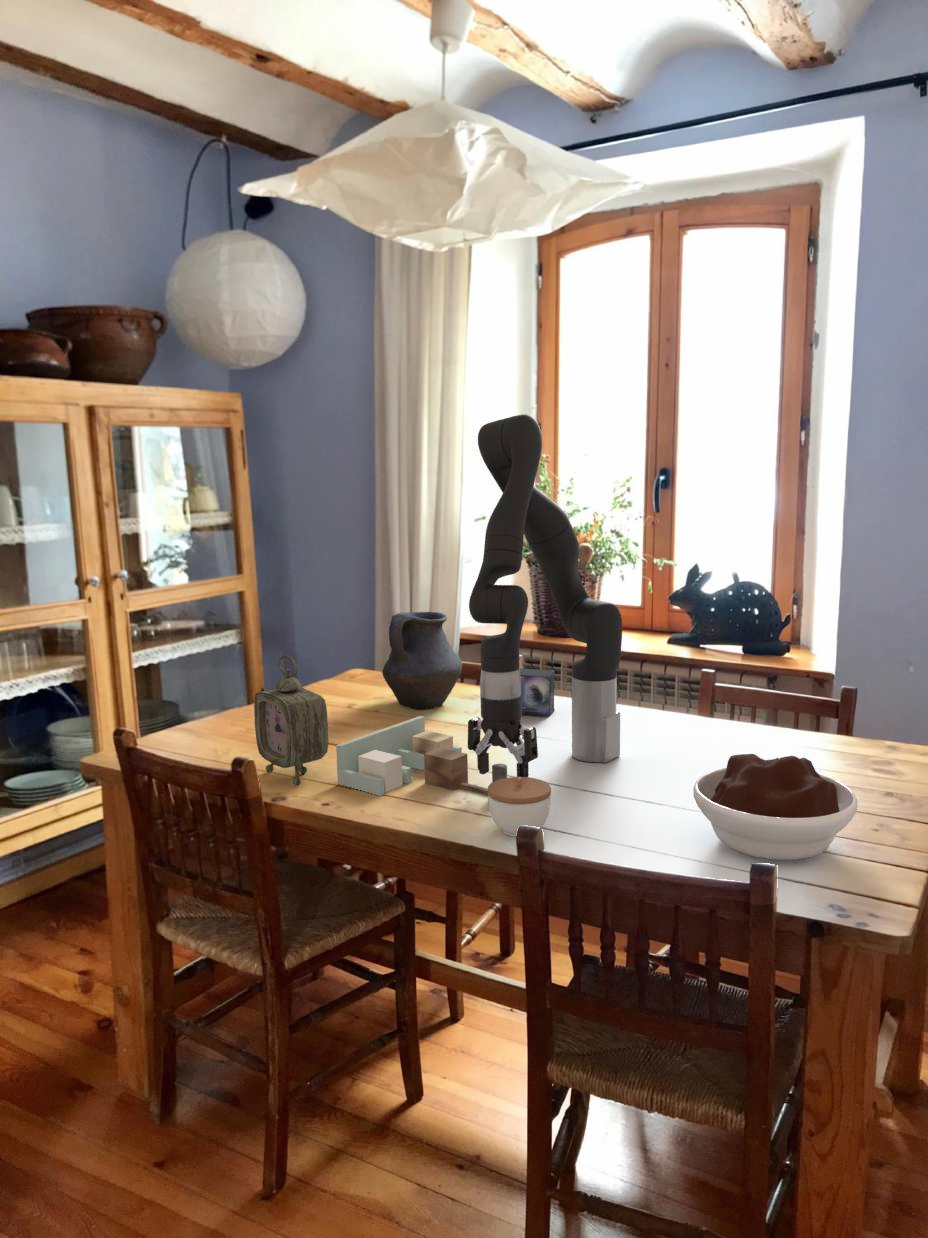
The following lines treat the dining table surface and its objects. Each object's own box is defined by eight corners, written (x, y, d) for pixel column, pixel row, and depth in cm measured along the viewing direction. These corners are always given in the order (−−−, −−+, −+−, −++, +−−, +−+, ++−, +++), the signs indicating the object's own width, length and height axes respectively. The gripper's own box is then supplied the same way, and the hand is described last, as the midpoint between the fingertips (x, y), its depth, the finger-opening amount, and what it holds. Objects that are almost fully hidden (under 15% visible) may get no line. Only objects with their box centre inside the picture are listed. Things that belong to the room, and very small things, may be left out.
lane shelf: (461, 761, 201) (461, 724, 199) (379, 796, 181) (378, 755, 180) (421, 751, 208) (420, 716, 206) (337, 784, 188) (336, 745, 187)
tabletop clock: (257, 772, 196) (250, 653, 192) (296, 762, 202) (290, 646, 198) (293, 790, 185) (286, 664, 181) (333, 779, 191) (327, 657, 187)
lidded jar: (513, 814, 171) (512, 763, 169) (563, 827, 164) (563, 775, 163) (475, 833, 163) (474, 780, 161) (526, 848, 156) (526, 793, 155)
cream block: (402, 785, 187) (401, 756, 186) (385, 792, 183) (384, 762, 182) (376, 778, 191) (375, 749, 190) (359, 785, 188) (358, 756, 186)
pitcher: (478, 700, 249) (476, 606, 245) (431, 721, 231) (428, 619, 227) (413, 691, 260) (410, 600, 256) (363, 710, 242) (360, 613, 238)
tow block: (513, 794, 181) (513, 764, 180) (498, 802, 177) (498, 771, 176) (440, 776, 192) (439, 747, 191) (424, 783, 188) (423, 753, 187)
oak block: (453, 764, 199) (452, 736, 198) (438, 770, 196) (438, 741, 195) (427, 758, 204) (426, 730, 203) (412, 764, 200) (412, 736, 199)
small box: (507, 715, 235) (506, 673, 233) (513, 708, 241) (513, 667, 240) (549, 717, 232) (549, 675, 230) (555, 710, 238) (554, 669, 237)
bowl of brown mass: (790, 896, 138) (794, 796, 135) (660, 841, 158) (661, 753, 155) (886, 851, 152) (892, 760, 150) (756, 806, 172) (758, 725, 170)
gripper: (544, 693, 174) (545, 778, 177) (481, 683, 183) (483, 765, 186) (521, 702, 169) (523, 790, 171) (457, 692, 177) (460, 776, 180)
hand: (502, 777), depth 179 cm, fingers open, 8 cm apart
